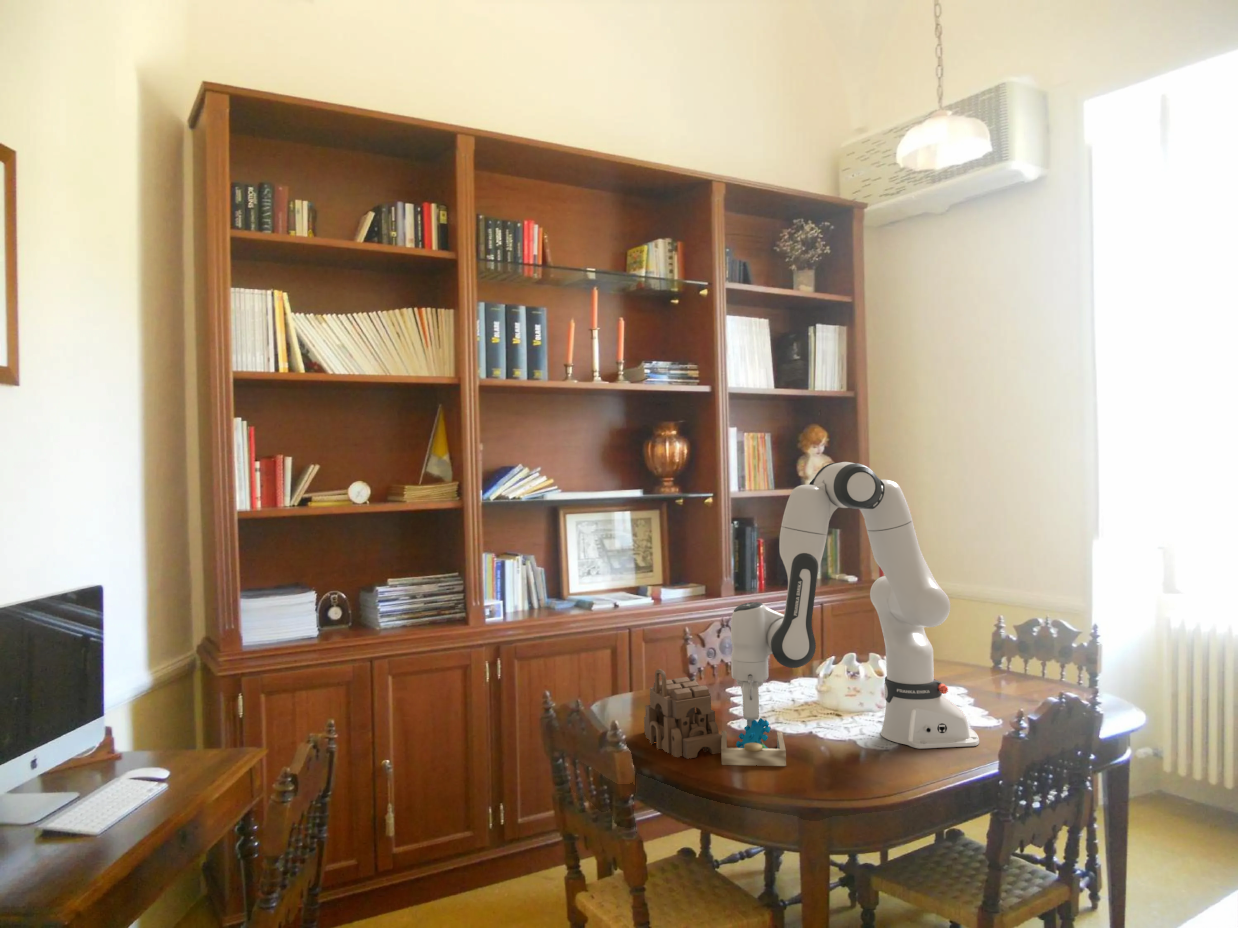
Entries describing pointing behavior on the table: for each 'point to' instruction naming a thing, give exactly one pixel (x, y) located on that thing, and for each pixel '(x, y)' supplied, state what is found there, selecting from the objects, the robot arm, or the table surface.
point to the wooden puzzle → (681, 717)
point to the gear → (754, 733)
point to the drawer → (753, 753)
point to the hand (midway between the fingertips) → (750, 727)
